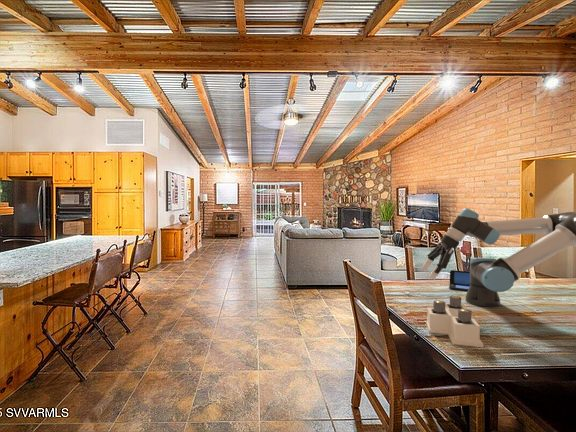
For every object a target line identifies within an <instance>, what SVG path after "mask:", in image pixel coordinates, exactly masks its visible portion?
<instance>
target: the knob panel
mask: <svg viewBox="0 0 576 432" xmlns="http://www.w3.org/2000/svg"><path fill="white" fill-rule="evenodd" d="M461 309H468V308H467V307H466V306H465V305H464V304H462V303H461ZM426 312H427V314H426V316H427V319H426V321H425V322H426V326H427V330H428V333H430V334H431V333H432V334H440V335H448V338H449V340H450V342H451V344H452V345H459V346H466V347H467V346H468V347H476V348H484V343H483V341H482V340H481V339H480V338H481V337H480V332H481V331H480V329H481V326H480V325H479V323H478V321H476V319H475V318H472V320H471V324H462V323H458V309H454V308H450V302H445V314H435V313H433V307H427V311H426Z"/></svg>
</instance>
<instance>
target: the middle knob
mask: <svg viewBox="0 0 576 432" xmlns="http://www.w3.org/2000/svg"><path fill="white" fill-rule="evenodd" d="M445 303H446V301H444V300H440V299H439V300H438V299H437V300H436V299H435V300H433V303H432V304H433V307H432V308H433V313H435V314H445Z"/></svg>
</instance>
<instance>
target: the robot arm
mask: <svg viewBox="0 0 576 432" xmlns="http://www.w3.org/2000/svg"><path fill="white" fill-rule="evenodd" d="M479 217H480V214H478V213H477V212H476V211H474V210H472V209H470V208H466V207H465V208H463V209H461V211H460V212H459V213H458V214H457V216H456V218H455V219H454V221H453V223H451V225H450V226H449V227H448V228H447V231H446V232H445V234H444V235H443V236H442V238H441V239H440V241H441V242H439V243H438V244H437V245H436V246H435V247H434V248H433V249H432V250H431V251H430V252H429V253H428V254H427V255H426V257H427V258H426V260H425V262H424V263H423V264H422V266H421V267H420V270H421V271H423V272H425V273H426V272H427V271H428V269H429V268H430V267H431V265H432V263H433V262H434V261H435V260H436V259H437V258H438V257H439V256H440V257H439V261H438V263H437V264H436V265H435V267H434V268H433V270H432V271H431V272H430V274H429V275H428V277H429V278H430V279H432V280H434V281H435V280H436V278H437V276H438V275H439V274H440V272H441V271H442V270H443V269H447V267H448V264H449V262H450V260H451V257H452V255H453V253H454V252H455V249H457V248H458V246H459V245H460V243H461V242H462V241H463V240H464V238H465V237H466V235H468V236H469V238H475V239H477V240H479V241H482V242H483V243H486V245H493V244H496V243H497V241H498V240H499V238H500V237H501V236H502V237H503V236H517V235H534V234H545V235H544V236H543V237H541V238H539V239H537V240H536V241H534V242H532V243H530V244H529V245H527V246H525V247H524V248H521V249H520V250H518V251H516V252H514V253H513V254H511V255H509V256H508V257H506V258H505V257H500V258H497V259H496V258H493V257H490V258H489V257H472V258H470V261H469V272H470V287H469V289H468V291H466V294H465V301H466V302H467V303H469V304H472V305H474V306H481V307H485V308H487V307H488V308H489V307H490V308H495V307H499V306H501V299H500V296H499V293H503V292H507V291H509V290H510V289H511V288H512V287H513V286H514V283H515V282H516V281H518V280H519V279H520V275H521V274H522V273H525V272H526V271H528V270H531V268H534V267H535V266H538V265H539V264H541V263H543V262H544V261H546V260H548V259H549V258H552V257H553V256H555V255H556V254H559V253H560V252H562V251H564V250H566V249H568V248H570V247H576V212H575V211H568V212H561V213H560V212H559V213H555V214H554V213H553V214H545V215H543V216H542V217H534V218H532V217H531V218H522V219H521V218H520V219H507V220H504V219H503V220H492V221H481V220H480V219H479Z"/></svg>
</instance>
